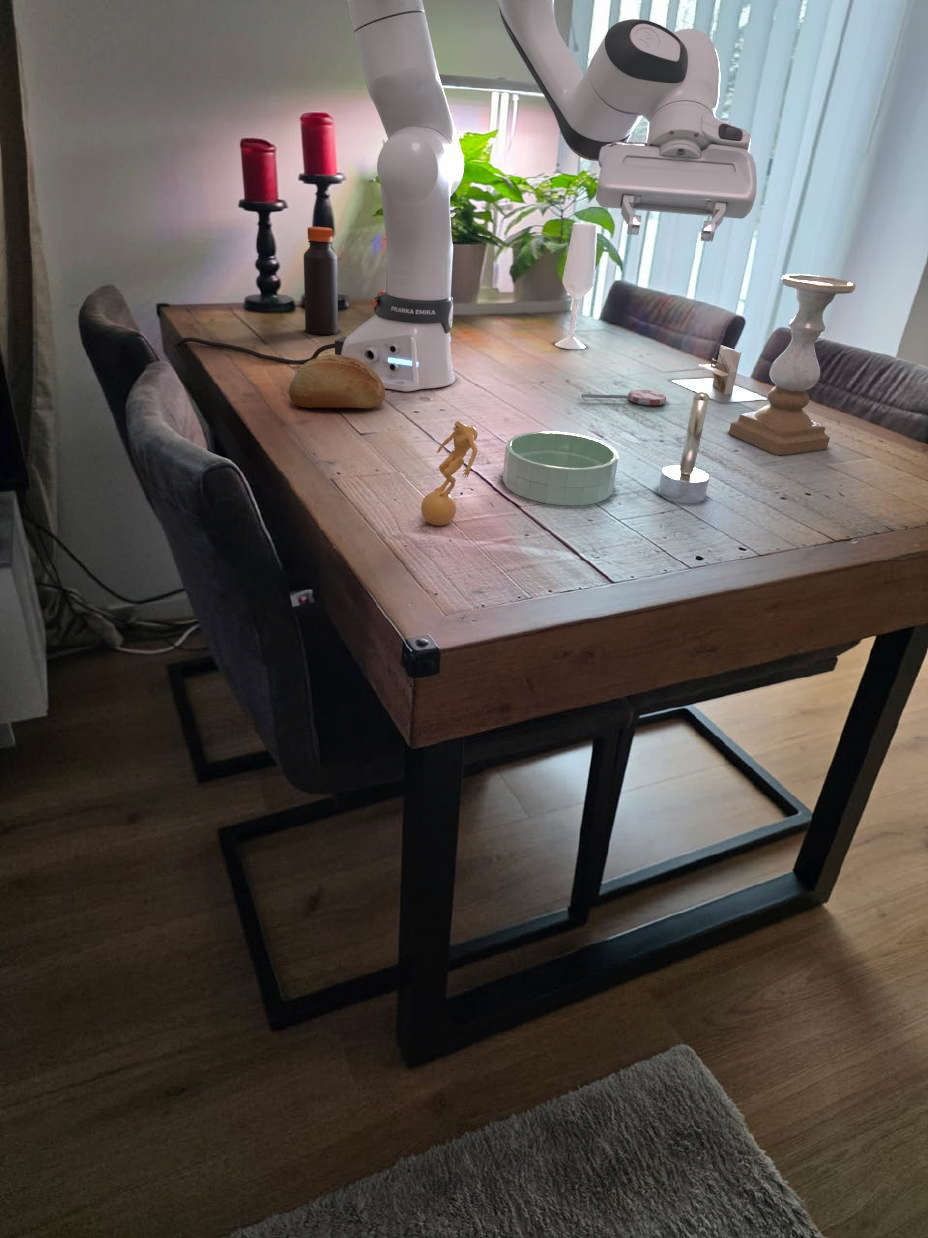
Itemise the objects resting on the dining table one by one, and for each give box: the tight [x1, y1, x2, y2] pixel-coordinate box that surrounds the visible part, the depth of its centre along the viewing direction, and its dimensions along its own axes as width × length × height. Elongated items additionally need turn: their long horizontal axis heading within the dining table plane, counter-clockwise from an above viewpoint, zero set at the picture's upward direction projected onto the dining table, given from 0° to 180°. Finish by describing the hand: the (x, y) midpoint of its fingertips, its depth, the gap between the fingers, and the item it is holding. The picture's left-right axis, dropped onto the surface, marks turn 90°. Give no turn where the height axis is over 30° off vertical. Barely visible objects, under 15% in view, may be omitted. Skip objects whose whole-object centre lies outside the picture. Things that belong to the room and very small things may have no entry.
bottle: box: [303, 226, 339, 336], centre depth 175 cm, size 7×7×20 cm
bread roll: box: [288, 354, 386, 409], centre depth 132 cm, size 10×15×8 cm, turn 97°
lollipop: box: [581, 389, 667, 406], centre depth 148 cm, size 7×1×15 cm
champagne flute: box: [554, 222, 598, 350], centre depth 178 cm, size 7×7×24 cm
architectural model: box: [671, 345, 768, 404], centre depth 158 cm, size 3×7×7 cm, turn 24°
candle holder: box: [728, 274, 857, 456], centre depth 128 cm, size 11×11×24 cm
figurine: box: [420, 420, 478, 527], centre depth 95 cm, size 8×6×12 cm
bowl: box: [502, 431, 619, 507], centre depth 110 cm, size 14×14×5 cm
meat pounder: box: [658, 391, 710, 504], centre depth 108 cm, size 6×6×14 cm
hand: (670, 234), depth 109 cm, fingers open, 8 cm apart
